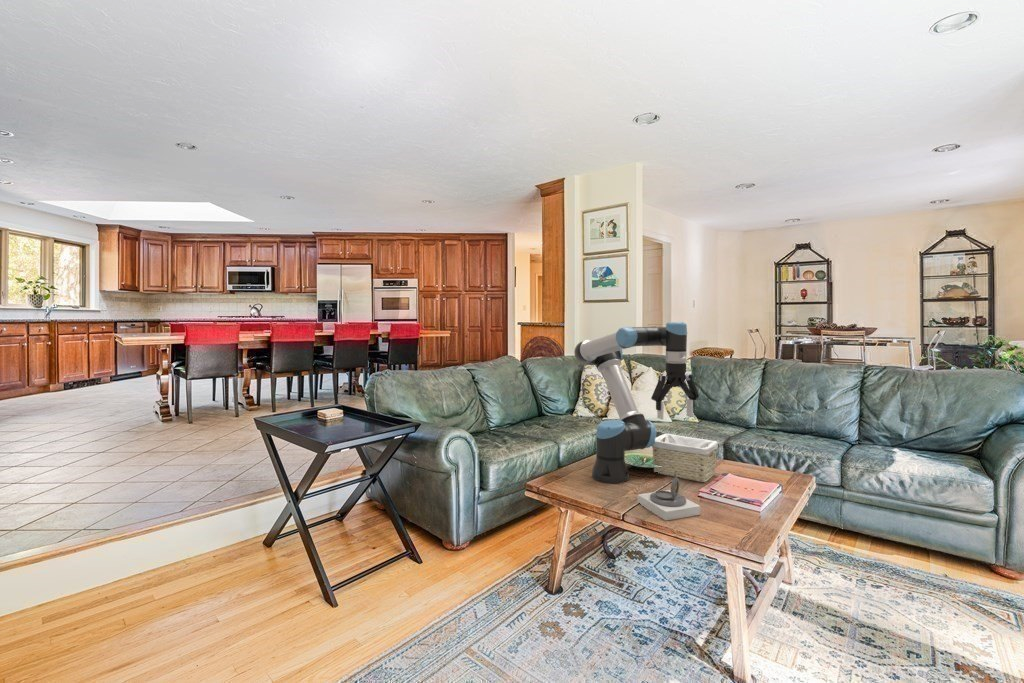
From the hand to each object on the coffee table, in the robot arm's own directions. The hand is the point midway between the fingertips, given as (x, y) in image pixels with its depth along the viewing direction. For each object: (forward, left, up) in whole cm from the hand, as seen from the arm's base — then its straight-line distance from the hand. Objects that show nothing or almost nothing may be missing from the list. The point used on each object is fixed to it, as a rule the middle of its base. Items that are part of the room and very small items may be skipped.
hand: (675, 417), depth 178 cm
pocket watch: (+13, -13, -25) cm, 31 cm away
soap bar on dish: (+13, -13, -29) cm, 34 cm away
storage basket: (-15, +17, -29) cm, 37 cm away
